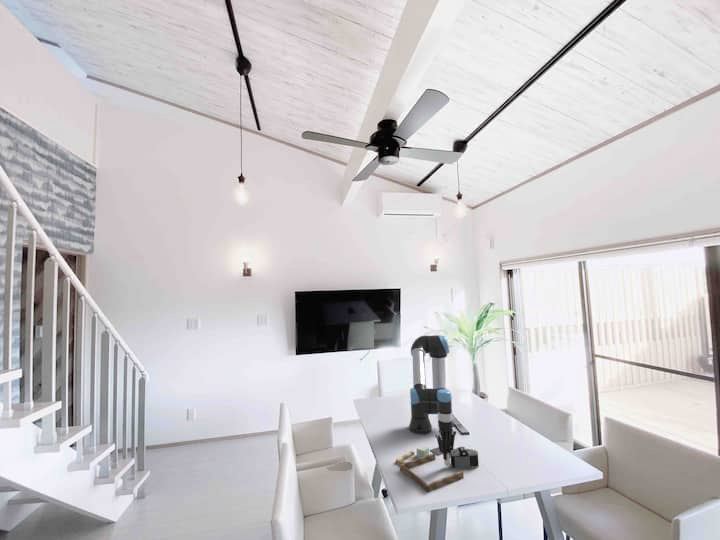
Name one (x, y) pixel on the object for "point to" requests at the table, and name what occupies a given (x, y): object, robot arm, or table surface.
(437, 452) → the pad
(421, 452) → the sage cube
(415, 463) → the brown wooden u frame
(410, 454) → the crook
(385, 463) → the table surface
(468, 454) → the camera
